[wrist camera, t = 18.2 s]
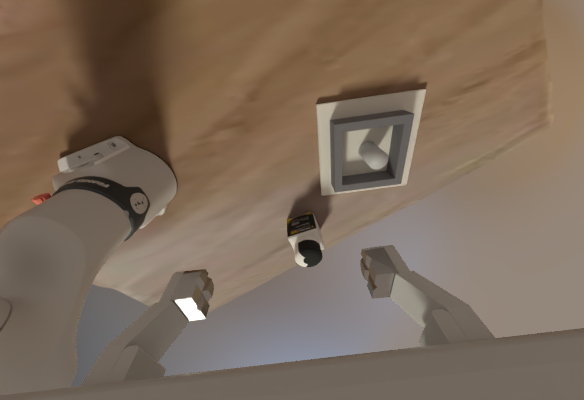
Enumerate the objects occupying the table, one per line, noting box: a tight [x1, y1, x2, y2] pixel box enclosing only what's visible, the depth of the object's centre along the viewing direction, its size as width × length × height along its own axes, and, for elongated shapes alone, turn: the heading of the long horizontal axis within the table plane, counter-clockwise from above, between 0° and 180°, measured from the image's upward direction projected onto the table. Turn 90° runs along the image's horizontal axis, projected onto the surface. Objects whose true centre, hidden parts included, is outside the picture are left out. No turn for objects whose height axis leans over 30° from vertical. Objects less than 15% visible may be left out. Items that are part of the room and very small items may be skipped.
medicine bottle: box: [287, 212, 325, 267], centre depth 50 cm, size 7×7×12 cm
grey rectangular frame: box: [330, 110, 414, 193], centre depth 41 cm, size 14×14×4 cm
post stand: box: [316, 89, 426, 196], centre depth 41 cm, size 20×20×7 cm
